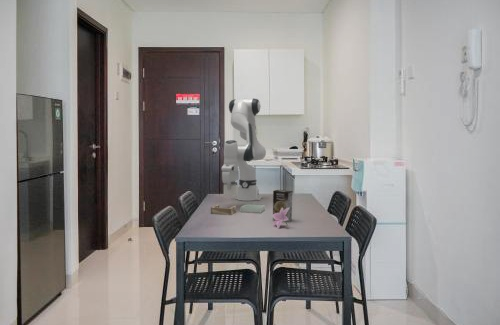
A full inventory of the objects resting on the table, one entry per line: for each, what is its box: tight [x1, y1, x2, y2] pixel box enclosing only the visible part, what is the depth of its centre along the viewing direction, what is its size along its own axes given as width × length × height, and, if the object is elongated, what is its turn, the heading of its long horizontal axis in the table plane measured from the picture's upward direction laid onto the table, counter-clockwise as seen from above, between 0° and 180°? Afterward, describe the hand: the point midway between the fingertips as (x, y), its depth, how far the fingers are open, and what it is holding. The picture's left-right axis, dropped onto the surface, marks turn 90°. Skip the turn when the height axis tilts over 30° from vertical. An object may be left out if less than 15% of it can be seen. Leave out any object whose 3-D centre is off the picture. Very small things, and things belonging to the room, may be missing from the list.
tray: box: [240, 204, 266, 214], centre depth 253 cm, size 10×12×3 cm
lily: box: [272, 207, 290, 229], centre depth 211 cm, size 12×12×10 cm
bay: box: [210, 204, 237, 216], centre depth 247 cm, size 10×12×4 cm
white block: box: [223, 181, 239, 198], centre depth 259 cm, size 5×8×9 cm, turn 73°
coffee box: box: [272, 189, 293, 223], centre depth 226 cm, size 9×6×16 cm
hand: (231, 188), depth 259 cm, fingers closed on white block, 5 cm apart
